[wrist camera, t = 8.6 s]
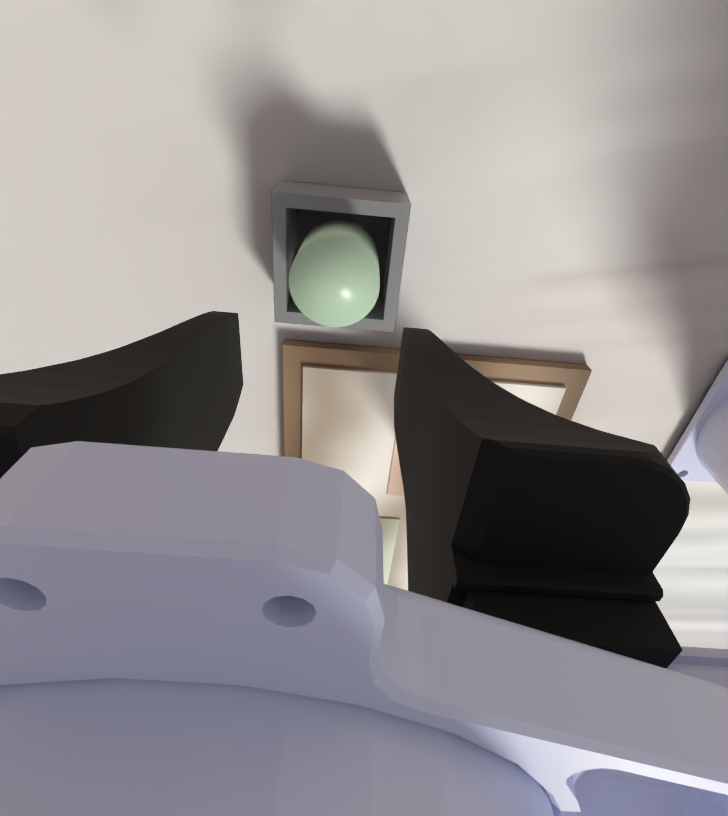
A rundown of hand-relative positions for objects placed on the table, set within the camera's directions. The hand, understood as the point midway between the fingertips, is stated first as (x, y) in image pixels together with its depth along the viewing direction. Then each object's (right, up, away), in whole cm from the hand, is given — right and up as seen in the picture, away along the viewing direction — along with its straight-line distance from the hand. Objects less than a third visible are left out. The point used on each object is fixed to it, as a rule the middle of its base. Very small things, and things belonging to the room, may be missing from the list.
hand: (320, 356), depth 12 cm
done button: (0, +5, +7) cm, 8 cm away
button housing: (0, +6, +8) cm, 10 cm away
